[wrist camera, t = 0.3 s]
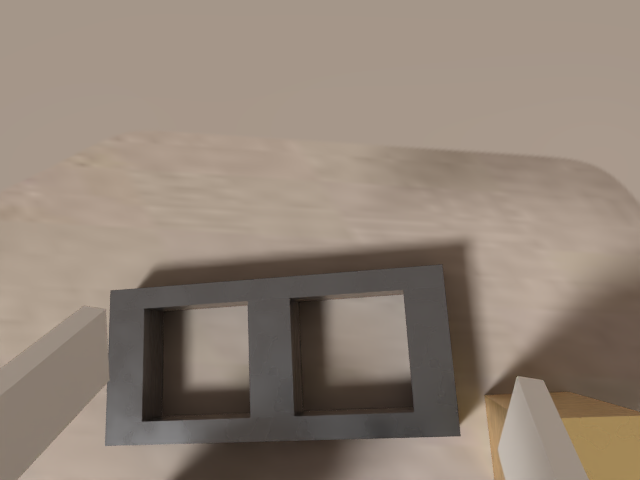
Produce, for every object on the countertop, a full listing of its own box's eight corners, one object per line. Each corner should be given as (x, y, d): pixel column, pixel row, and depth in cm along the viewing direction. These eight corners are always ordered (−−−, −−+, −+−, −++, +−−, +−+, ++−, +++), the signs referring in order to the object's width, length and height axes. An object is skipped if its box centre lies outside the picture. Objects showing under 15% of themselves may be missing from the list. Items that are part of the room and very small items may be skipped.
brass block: (581, 479, 27) (677, 552, 17) (494, 480, 28) (539, 551, 18) (568, 391, 28) (652, 415, 18) (484, 395, 29) (522, 419, 19)
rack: (456, 428, 29) (460, 436, 26) (128, 438, 32) (105, 445, 29) (439, 270, 31) (442, 264, 28) (132, 294, 34) (110, 290, 31)
